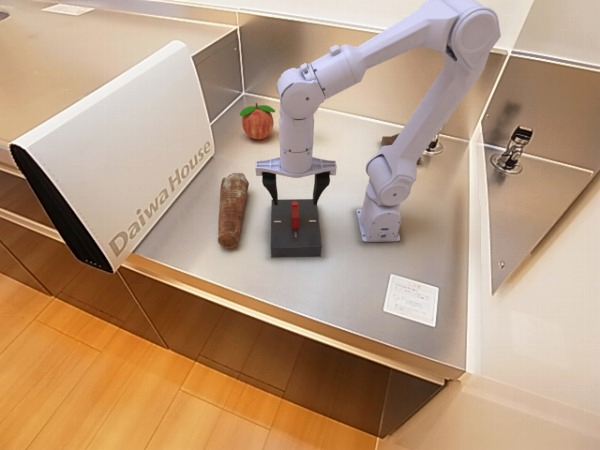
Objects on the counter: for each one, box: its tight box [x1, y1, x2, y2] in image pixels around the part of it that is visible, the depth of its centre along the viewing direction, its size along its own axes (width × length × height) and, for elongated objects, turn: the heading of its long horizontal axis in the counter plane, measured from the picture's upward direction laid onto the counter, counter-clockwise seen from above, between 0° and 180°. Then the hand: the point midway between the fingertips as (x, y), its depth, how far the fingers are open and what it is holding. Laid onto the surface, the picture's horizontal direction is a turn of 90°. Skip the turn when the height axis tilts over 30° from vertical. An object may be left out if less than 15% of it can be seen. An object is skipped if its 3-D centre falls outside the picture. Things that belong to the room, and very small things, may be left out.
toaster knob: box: [291, 202, 299, 229], centre depth 75 cm, size 4×1×4 cm, turn 2°
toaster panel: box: [270, 198, 323, 258], centre depth 78 cm, size 14×10×3 cm
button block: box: [380, 133, 422, 166], centre depth 98 cm, size 10×8×4 cm
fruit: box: [239, 102, 276, 140], centre depth 101 cm, size 9×10×10 cm
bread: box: [217, 172, 250, 249], centre depth 79 cm, size 6×19×6 cm, turn 0°
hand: (295, 201), depth 73 cm, fingers open, 7 cm apart
